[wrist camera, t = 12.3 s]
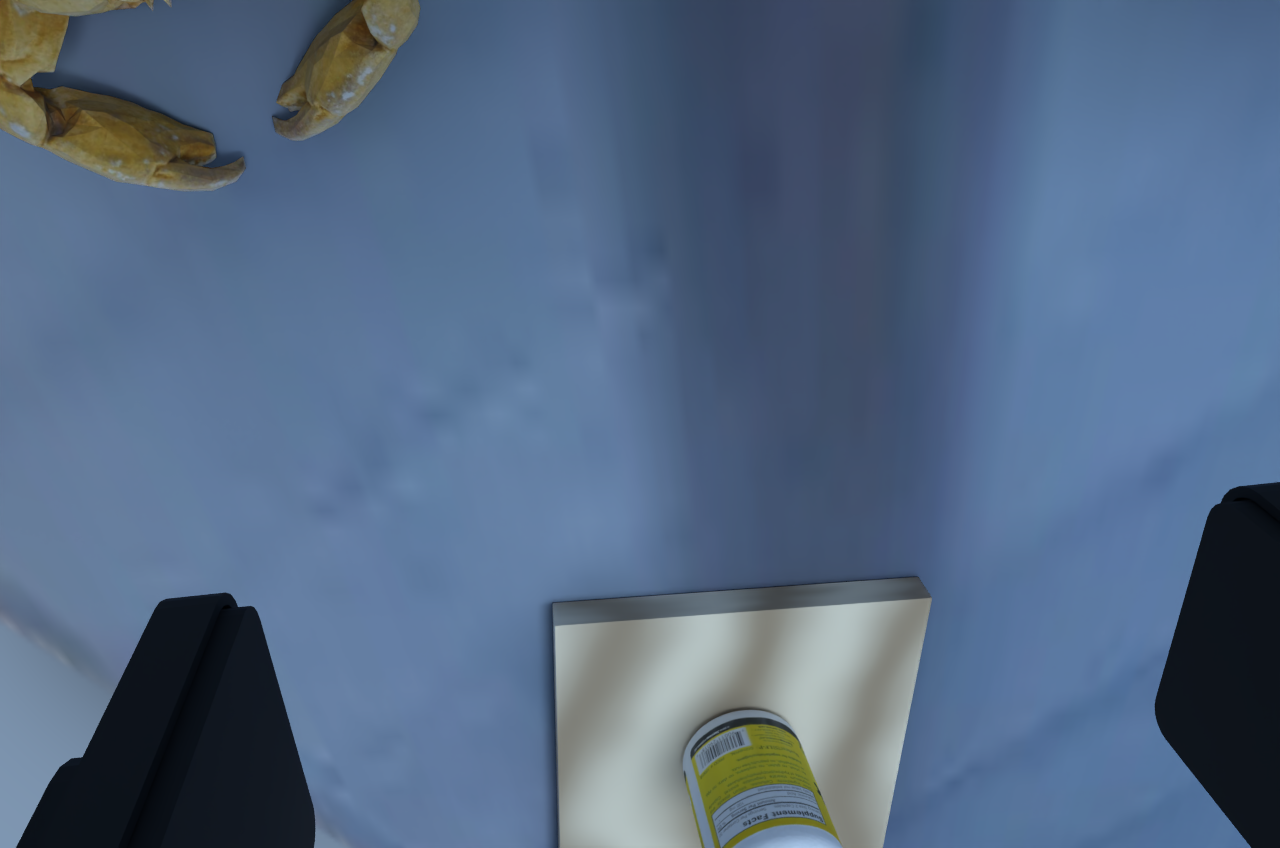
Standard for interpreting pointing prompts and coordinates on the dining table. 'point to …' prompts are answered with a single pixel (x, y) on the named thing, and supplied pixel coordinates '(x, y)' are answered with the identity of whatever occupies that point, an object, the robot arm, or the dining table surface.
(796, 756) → the supplement bottle
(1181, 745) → the robot arm
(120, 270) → the dining table surface
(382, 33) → the crab model
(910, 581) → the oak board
